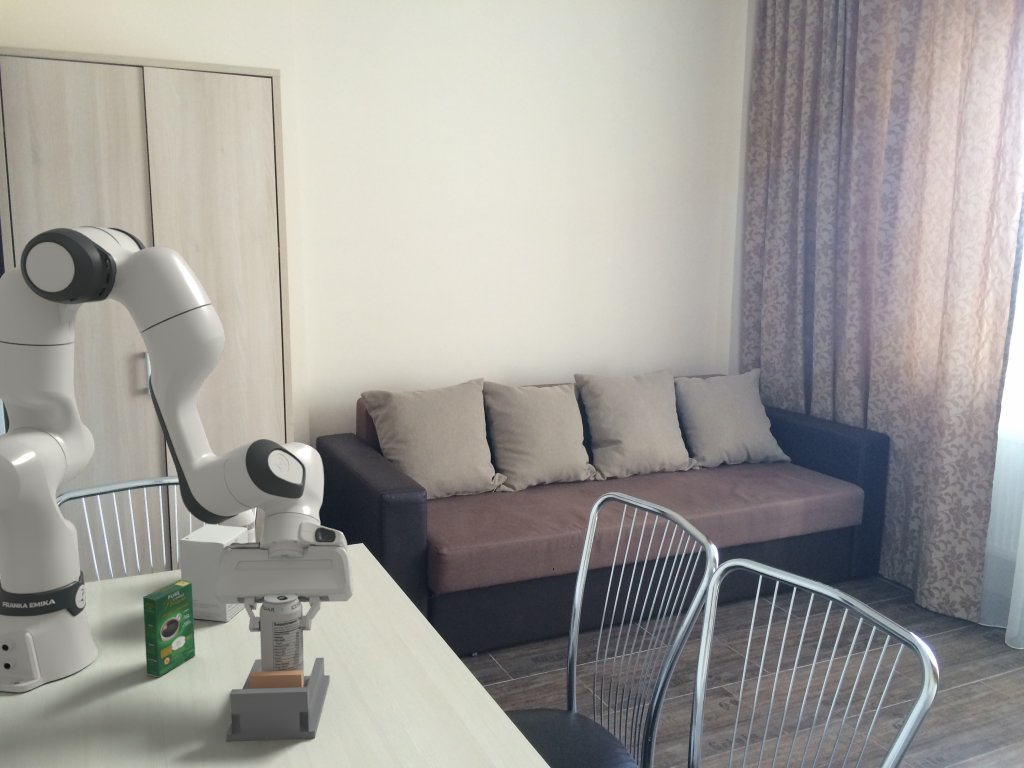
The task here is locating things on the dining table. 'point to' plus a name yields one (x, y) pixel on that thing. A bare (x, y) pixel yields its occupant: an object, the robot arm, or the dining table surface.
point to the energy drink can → (281, 633)
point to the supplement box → (208, 568)
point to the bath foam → (243, 523)
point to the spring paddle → (276, 679)
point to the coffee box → (169, 627)
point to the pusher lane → (278, 708)
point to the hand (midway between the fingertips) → (279, 630)
